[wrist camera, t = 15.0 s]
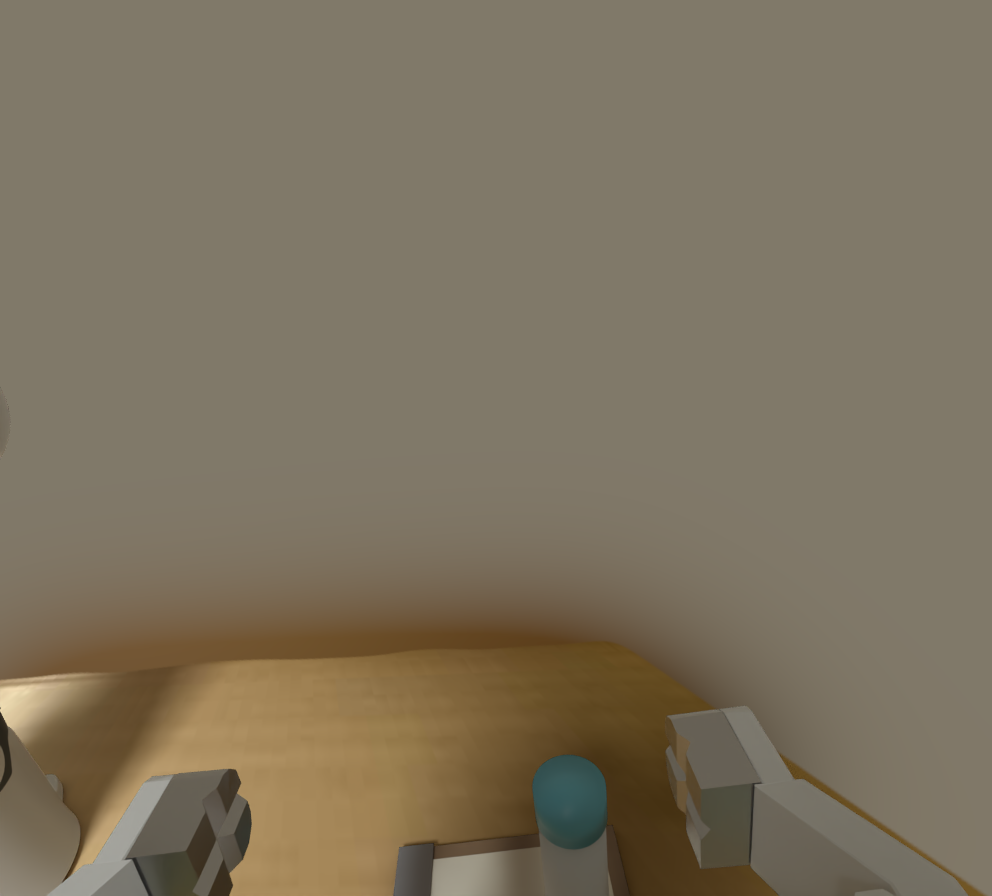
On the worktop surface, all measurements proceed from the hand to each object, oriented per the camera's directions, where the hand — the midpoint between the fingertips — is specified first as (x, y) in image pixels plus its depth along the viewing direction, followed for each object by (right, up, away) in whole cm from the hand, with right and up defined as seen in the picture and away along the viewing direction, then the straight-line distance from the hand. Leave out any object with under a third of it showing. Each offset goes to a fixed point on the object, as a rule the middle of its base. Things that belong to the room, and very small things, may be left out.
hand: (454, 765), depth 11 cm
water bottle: (+6, -23, +23) cm, 33 cm away
